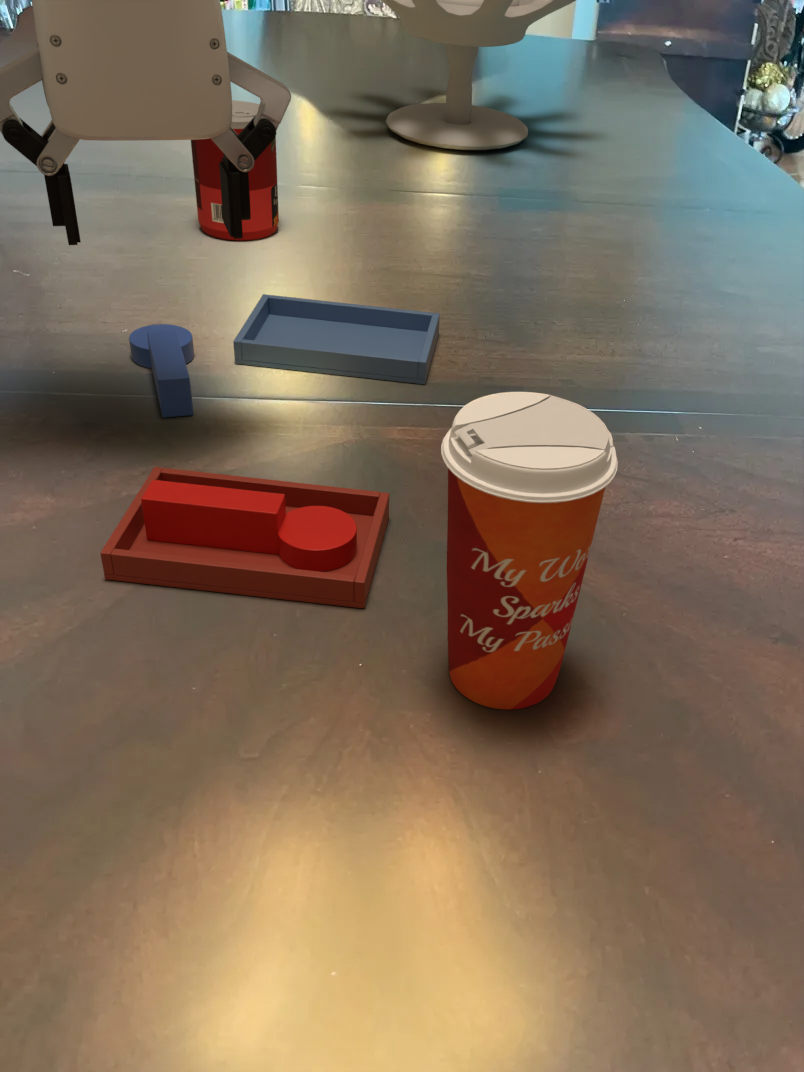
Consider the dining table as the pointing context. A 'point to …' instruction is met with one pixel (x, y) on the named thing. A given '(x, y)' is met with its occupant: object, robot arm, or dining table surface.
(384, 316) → the blue tray
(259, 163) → the canned food
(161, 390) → the blue spoon
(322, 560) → the red spoon
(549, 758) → the dining table surface
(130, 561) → the red tray
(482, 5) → the beige pedestal fruit bowl
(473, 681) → the coffee cup
